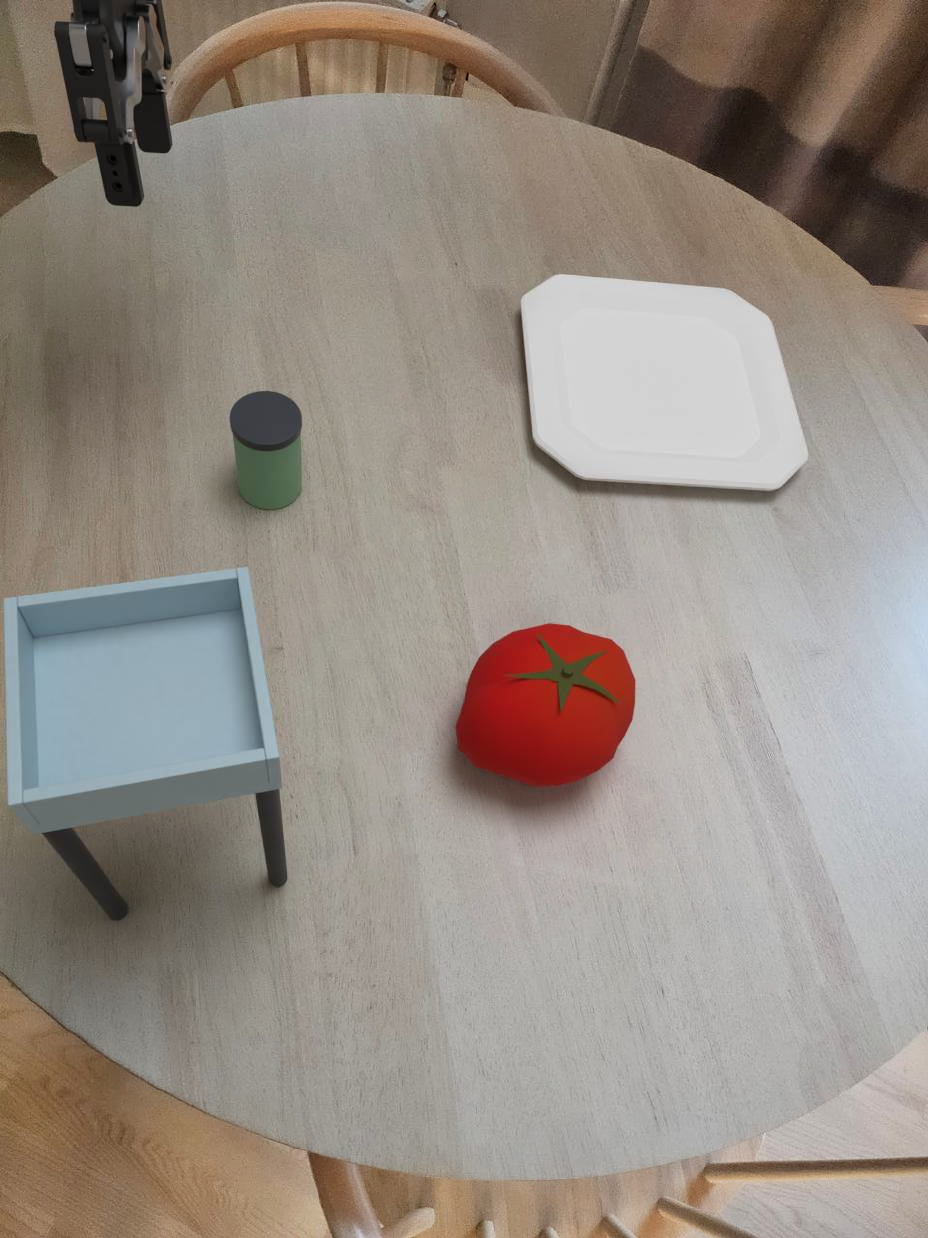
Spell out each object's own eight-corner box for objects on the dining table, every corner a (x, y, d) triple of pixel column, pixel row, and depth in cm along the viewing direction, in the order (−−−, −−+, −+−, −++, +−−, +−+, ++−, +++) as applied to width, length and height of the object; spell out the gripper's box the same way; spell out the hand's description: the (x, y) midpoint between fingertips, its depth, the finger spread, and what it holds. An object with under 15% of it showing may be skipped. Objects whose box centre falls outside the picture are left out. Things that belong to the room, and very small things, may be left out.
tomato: (418, 704, 68) (433, 635, 60) (565, 641, 73) (600, 568, 64) (492, 841, 64) (521, 788, 55) (644, 766, 68) (693, 706, 59)
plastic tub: (241, 514, 74) (234, 447, 68) (233, 463, 77) (225, 393, 70) (308, 506, 76) (307, 440, 69) (297, 456, 78) (295, 387, 71)
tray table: (107, 925, 58) (6, 805, 39) (96, 770, 63) (2, 597, 44) (290, 886, 61) (279, 757, 42) (267, 740, 65) (248, 565, 46)
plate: (532, 489, 80) (537, 472, 78) (514, 286, 92) (518, 267, 90) (809, 505, 83) (821, 489, 81) (756, 306, 95) (764, 289, 93)
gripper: (53, -163, 55) (111, 132, 67) (-35, -117, 45) (51, 220, 57) (183, -153, 56) (218, 139, 67) (124, -105, 46) (177, 227, 57)
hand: (142, 176), depth 62 cm, fingers open, 8 cm apart
